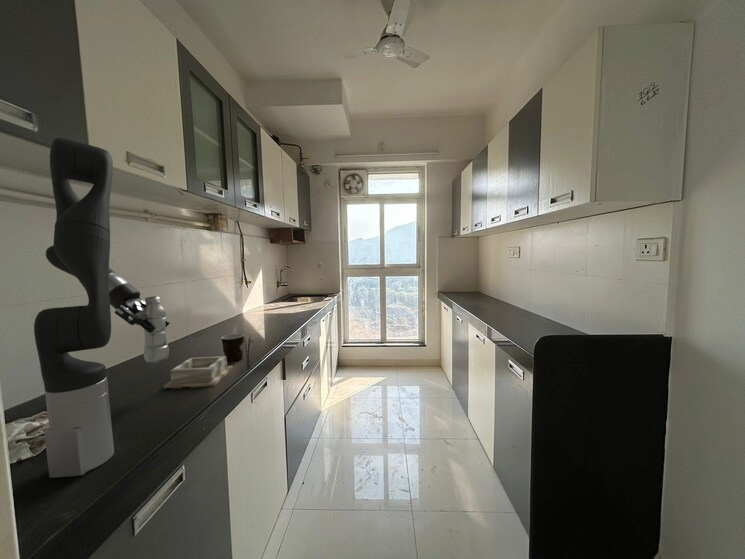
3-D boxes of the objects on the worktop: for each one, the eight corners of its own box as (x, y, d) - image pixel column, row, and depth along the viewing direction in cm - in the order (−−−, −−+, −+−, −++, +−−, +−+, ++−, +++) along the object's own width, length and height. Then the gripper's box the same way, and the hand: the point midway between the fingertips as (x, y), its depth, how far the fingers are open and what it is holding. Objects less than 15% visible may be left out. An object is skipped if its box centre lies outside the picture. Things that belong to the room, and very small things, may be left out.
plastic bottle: (140, 366, 89) (134, 299, 88) (150, 358, 96) (145, 296, 94) (164, 363, 91) (160, 297, 90) (173, 356, 98) (168, 295, 96)
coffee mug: (235, 355, 132) (234, 332, 132) (249, 357, 129) (248, 334, 128) (211, 364, 122) (209, 339, 121) (226, 367, 118) (224, 342, 117)
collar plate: (214, 386, 101) (213, 370, 100) (164, 388, 99) (162, 372, 99) (232, 368, 117) (231, 354, 116) (189, 370, 115) (188, 356, 115)
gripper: (106, 284, 84) (154, 324, 86) (141, 280, 98) (181, 314, 100) (87, 303, 84) (135, 343, 86) (125, 297, 98) (166, 331, 100)
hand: (160, 327), depth 93 cm, fingers closed on plastic bottle, 6 cm apart
